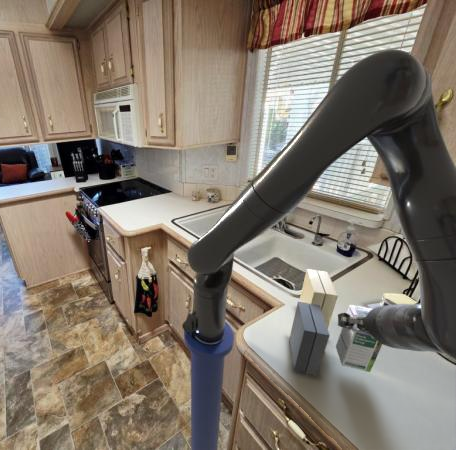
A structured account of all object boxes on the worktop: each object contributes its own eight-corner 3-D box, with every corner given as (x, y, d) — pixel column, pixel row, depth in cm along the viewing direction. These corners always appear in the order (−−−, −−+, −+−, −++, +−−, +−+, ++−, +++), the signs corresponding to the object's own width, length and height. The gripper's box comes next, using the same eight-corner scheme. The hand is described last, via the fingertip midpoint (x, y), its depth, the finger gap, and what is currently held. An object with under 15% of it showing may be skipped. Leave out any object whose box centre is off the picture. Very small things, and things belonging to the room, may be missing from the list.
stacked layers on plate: (393, 301, 82) (399, 287, 80) (423, 321, 74) (430, 307, 72) (366, 305, 81) (371, 291, 79) (393, 326, 73) (399, 311, 71)
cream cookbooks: (302, 335, 72) (313, 291, 66) (297, 309, 82) (306, 268, 75) (324, 340, 70) (338, 295, 64) (316, 312, 80) (327, 271, 73)
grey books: (293, 370, 63) (304, 330, 57) (289, 339, 71) (297, 301, 66) (316, 376, 61) (329, 335, 55) (309, 343, 70) (319, 305, 64)
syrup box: (341, 366, 60) (358, 321, 54) (334, 346, 65) (350, 302, 59) (370, 373, 58) (391, 327, 52) (361, 351, 63) (379, 308, 57)
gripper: (453, 313, 43) (395, 316, 58) (353, 297, 48) (324, 303, 63) (460, 361, 41) (399, 351, 56) (355, 339, 45) (324, 335, 60)
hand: (359, 325), depth 59 cm, fingers closed on syrup box, 5 cm apart
